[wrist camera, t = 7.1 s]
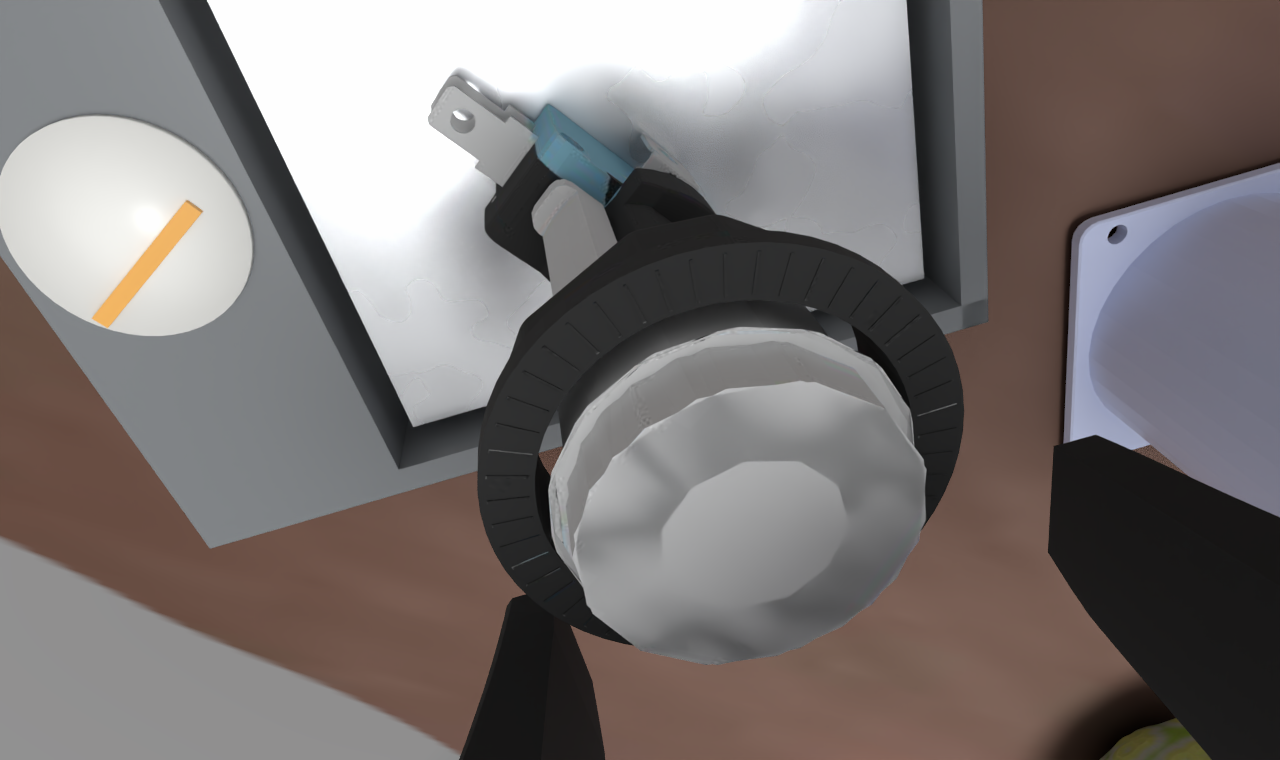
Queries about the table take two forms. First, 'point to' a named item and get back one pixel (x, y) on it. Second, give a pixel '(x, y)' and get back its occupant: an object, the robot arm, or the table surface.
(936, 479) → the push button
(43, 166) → the scale housing
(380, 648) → the table surface
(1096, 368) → the robot arm
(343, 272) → the weighing pan
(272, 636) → the table surface
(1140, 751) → the decorative ball
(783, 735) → the table surface
